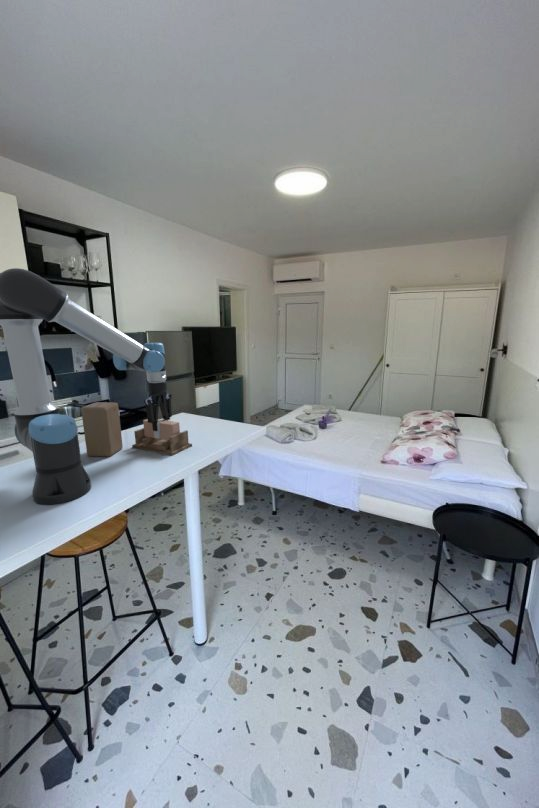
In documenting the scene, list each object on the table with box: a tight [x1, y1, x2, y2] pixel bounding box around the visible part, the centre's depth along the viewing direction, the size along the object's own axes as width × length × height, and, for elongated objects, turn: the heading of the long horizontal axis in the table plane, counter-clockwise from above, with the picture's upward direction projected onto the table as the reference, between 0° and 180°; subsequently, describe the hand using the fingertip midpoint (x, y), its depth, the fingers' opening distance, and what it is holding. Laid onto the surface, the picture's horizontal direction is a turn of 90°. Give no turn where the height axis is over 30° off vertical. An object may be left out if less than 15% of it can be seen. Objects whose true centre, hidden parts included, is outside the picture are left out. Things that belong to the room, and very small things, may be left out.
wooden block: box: [80, 401, 123, 458], centre depth 132 cm, size 10×10×20 cm
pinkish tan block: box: [142, 418, 181, 440], centre depth 139 cm, size 4×16×7 cm, turn 64°
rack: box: [132, 427, 193, 456], centre depth 140 cm, size 12×22×7 cm, turn 64°
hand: (161, 436), depth 140 cm, fingers closed on pinkish tan block, 4 cm apart
